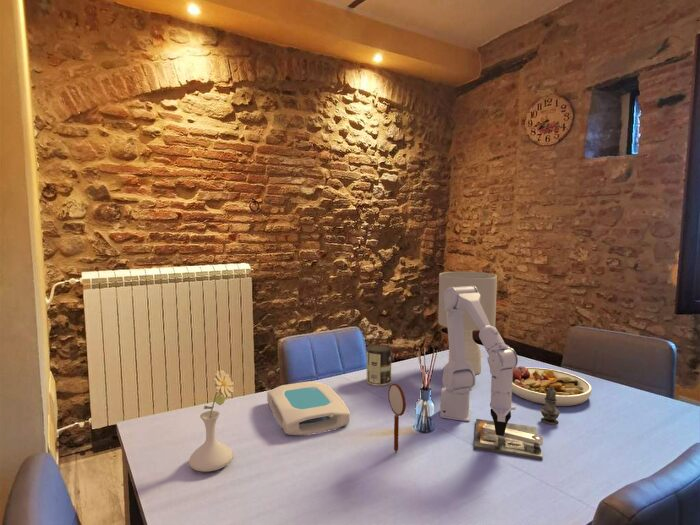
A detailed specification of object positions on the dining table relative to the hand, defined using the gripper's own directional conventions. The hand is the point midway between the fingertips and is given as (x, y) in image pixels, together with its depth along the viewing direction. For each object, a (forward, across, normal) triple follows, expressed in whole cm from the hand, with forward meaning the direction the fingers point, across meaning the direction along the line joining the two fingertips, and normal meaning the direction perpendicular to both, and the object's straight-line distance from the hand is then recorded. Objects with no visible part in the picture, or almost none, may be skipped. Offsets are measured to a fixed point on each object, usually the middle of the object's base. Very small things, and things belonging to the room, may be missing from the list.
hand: (499, 434), depth 126 cm
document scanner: (+3, +1, +62) cm, 62 cm away
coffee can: (+3, +38, +46) cm, 60 cm away
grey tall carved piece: (+3, +21, -16) cm, 27 cm away
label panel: (+3, +4, -2) cm, 5 cm away
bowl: (+3, +47, -18) cm, 50 cm away
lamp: (+3, +63, +13) cm, 64 cm away
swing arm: (+1, +2, -3) cm, 3 cm away
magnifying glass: (+3, -14, +28) cm, 31 cm away
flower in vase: (+3, -34, +74) cm, 81 cm away
